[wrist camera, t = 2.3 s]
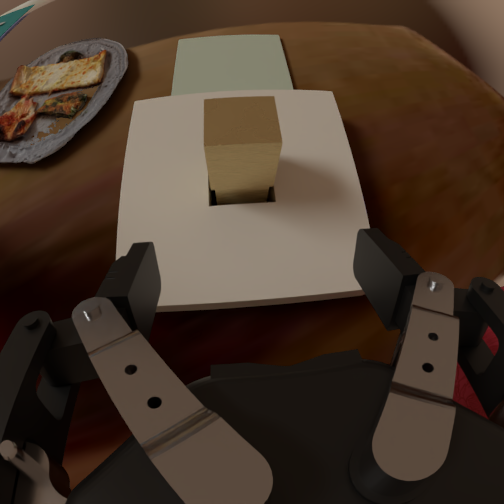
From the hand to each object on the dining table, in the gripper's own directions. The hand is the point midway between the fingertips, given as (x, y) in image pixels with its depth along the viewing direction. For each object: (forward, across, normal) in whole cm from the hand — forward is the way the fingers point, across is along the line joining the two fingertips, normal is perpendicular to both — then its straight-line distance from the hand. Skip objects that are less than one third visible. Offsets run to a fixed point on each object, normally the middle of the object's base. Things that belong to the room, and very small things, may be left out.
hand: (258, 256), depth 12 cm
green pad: (+30, 0, -10) cm, 32 cm away
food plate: (+31, +26, -10) cm, 41 cm away
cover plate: (+17, 0, +3) cm, 17 cm away
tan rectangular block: (+17, 0, +3) cm, 17 cm away
